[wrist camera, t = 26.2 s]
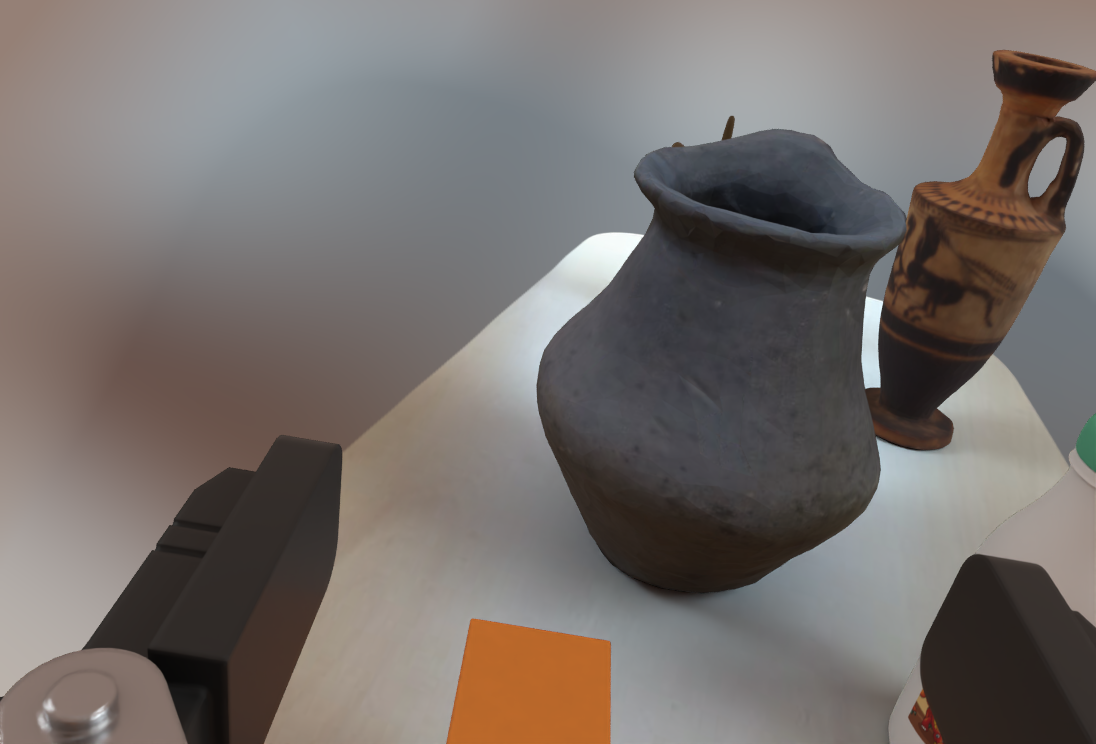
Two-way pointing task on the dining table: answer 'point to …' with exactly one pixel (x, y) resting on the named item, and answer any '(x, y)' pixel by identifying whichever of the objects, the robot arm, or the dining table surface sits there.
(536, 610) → the dining table surface
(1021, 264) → the vase
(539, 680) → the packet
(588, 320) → the dark grey clay pot
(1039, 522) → the milk bottle
